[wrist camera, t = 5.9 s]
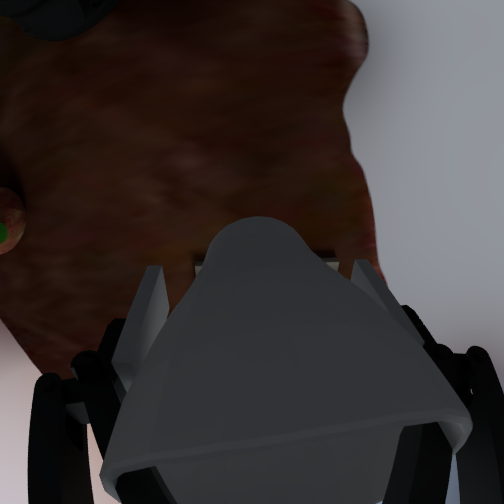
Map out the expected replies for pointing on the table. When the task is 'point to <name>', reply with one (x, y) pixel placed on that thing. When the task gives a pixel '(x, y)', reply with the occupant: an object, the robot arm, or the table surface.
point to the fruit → (10, 219)
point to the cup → (277, 383)
